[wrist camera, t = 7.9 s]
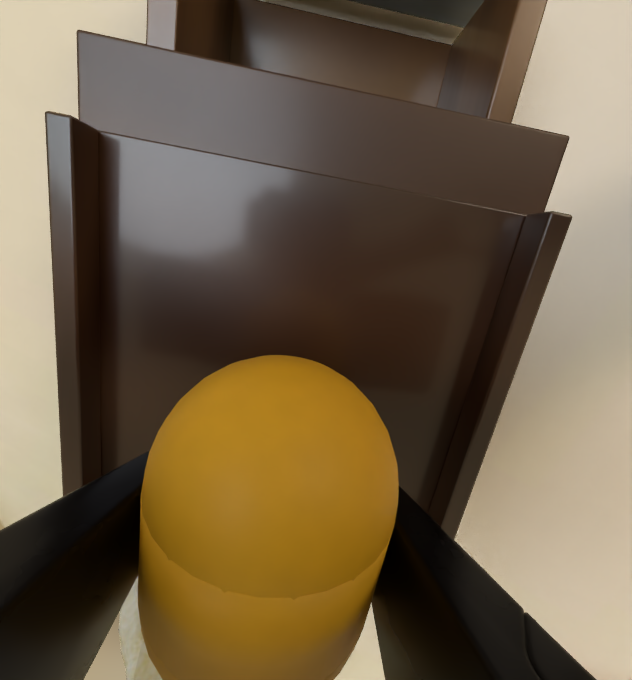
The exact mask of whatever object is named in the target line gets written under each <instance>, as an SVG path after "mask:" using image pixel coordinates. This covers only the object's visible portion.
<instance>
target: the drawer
mask: <svg viewBox="0 0 632 680" xmlns="http://www.w3.org/2000/svg"><path fill="white" fill-rule="evenodd" d="M348 1H352V2H357V3H361V4H365V5H369V6H374V7H378V8H382V9H386V10H390V11H395V12H399V13H403V14H407V15H412V16H416V17H420V18H424V19H429V20H433V21H437V22H441V23H445V24H450V25H454V26H458V27H462V28H464V29H463V30H462V32H461V33H460V35H459V36H458V37H457V39H456V40H455V41H454V43H453V44H452V45H448V44H444V43H439V42H435V41H431V40H427V39H422V38H418V37H414V36H409V35H405V34H401V33H396V32H392V31H388V30H383V29H379V28H375V27H370V26H366V25H362V24H357V23H353V22H349V21H345V20H340V19H336V18H332V17H327V16H323V15H319V14H314V13H310V12H306V11H301V10H297V9H293V8H288V7H284V6H280V5H275V4H271V3H267V2H263V1H258V0H147V38H146V44H147V45H151V46H156V47H161V48H165V49H170V50H175V51H179V52H184V53H188V54H193V55H198V56H202V57H207V58H211V59H216V60H221V61H225V62H230V63H234V64H239V65H244V66H248V67H253V68H257V69H262V70H267V71H271V72H276V73H281V74H285V75H290V76H294V77H299V78H304V79H308V80H313V81H317V82H322V83H327V84H331V85H336V86H340V87H345V88H350V89H354V90H359V91H363V92H368V93H373V94H377V95H382V96H387V97H391V98H396V99H400V100H405V101H410V102H414V103H419V104H423V105H428V106H433V107H437V108H442V109H446V110H451V111H456V112H460V113H465V114H469V115H474V116H479V117H483V118H488V119H492V120H497V121H502V122H506V123H511V122H512V119H513V115H514V112H515V108H516V105H517V102H518V98H519V95H520V92H521V88H522V85H523V81H524V78H525V75H526V71H527V68H528V65H529V61H530V58H531V54H532V51H533V48H534V44H535V41H536V38H537V34H538V31H539V28H540V24H541V21H542V17H543V14H544V11H545V7H546V4H547V1H548V0H348Z"/></svg>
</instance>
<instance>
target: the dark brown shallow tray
mask: <svg viewBox="0 0 632 680" xmlns="http://www.w3.org/2000/svg"><path fill="white" fill-rule="evenodd" d="M45 123H46V144H47V166H48V187H49V208H50V229H51V251H52V272H53V293H54V314H55V335H56V357H57V378H58V399H59V420H60V442H61V463H62V484H63V497H64V496H65V495H67V494H69V493H71V492H73V491H75V490H77V489H79V488H80V487H82V486H84V485H86V484H88V483H90V482H92V481H93V480H95V479H97V478H99V477H101V476H103V475H105V474H106V473H108V472H110V471H112V470H114V469H116V468H118V467H120V466H121V465H123V464H125V463H127V462H129V461H131V460H133V459H134V458H136V457H138V456H140V455H142V454H144V453H146V452H147V451H149V450H150V449H151V447H152V445H153V442H154V440H155V438H156V435H157V433H158V431H159V429H160V428H161V426H162V424H163V423H164V421H165V419H166V418H167V416H168V415H169V414H170V412H171V411H172V410H173V408H174V407H175V405H176V404H177V403H178V401H179V400H180V399H181V398H182V397H183V396H184V395H186V394H187V393H188V392H189V391H190V390H191V389H192V388H193V387H195V386H196V385H197V384H198V383H199V382H200V381H201V380H203V379H204V378H205V377H207V376H209V375H211V374H212V373H214V372H216V371H218V370H220V369H222V368H224V367H226V366H228V365H230V364H232V363H235V362H238V361H241V360H246V359H250V358H255V357H259V356H266V355H287V356H295V357H300V358H305V359H309V360H312V361H315V362H318V363H321V364H323V365H325V366H327V367H329V368H331V369H333V370H334V371H336V372H337V373H339V374H341V375H342V376H344V377H346V378H347V379H348V380H350V381H351V382H352V383H353V384H354V385H355V386H356V387H357V388H358V389H359V390H360V391H361V392H362V393H363V394H364V395H365V396H366V397H367V399H368V400H369V401H370V402H371V403H372V404H373V406H374V407H375V409H376V411H377V413H378V414H379V416H380V418H381V420H382V421H383V423H384V425H385V427H386V428H387V430H388V433H389V436H390V440H391V443H392V446H393V450H394V453H395V457H396V461H397V466H398V481H399V486H400V487H401V488H402V489H403V490H404V491H405V492H406V493H407V494H408V495H409V496H410V497H411V498H412V499H413V500H414V501H415V502H416V503H417V504H418V505H419V506H420V507H421V508H422V509H423V510H424V511H425V512H426V513H427V514H428V515H429V516H430V517H431V518H432V519H433V520H434V521H435V522H436V523H437V524H438V525H439V526H440V527H441V528H442V529H443V530H444V531H445V532H446V533H447V534H448V535H449V536H450V537H451V538H452V539H453V540H454V538H455V536H456V533H457V530H458V527H459V525H460V522H461V519H462V517H463V514H464V511H465V508H466V506H467V503H468V500H469V497H470V495H471V492H472V489H473V487H474V484H475V481H476V478H477V476H478V473H479V470H480V467H481V465H482V462H483V459H484V457H485V454H486V451H487V448H488V446H489V443H490V440H491V437H492V435H493V432H494V429H495V427H496V424H497V421H498V418H499V416H500V413H501V410H502V408H503V405H504V402H505V399H506V397H507V394H508V391H509V388H510V386H511V383H512V380H513V378H514V375H515V372H516V369H517V367H518V364H519V361H520V358H521V356H522V353H523V350H524V348H525V345H526V342H527V339H528V337H529V334H530V331H531V329H532V326H533V323H534V320H535V318H536V315H537V312H538V309H539V307H540V304H541V301H542V299H543V296H544V293H545V290H546V288H547V285H548V282H549V279H550V277H551V274H552V271H553V269H554V266H555V263H556V260H557V258H558V255H559V252H560V249H561V247H562V244H563V241H564V239H565V236H566V233H567V230H568V228H569V225H570V222H571V220H572V216H571V215H569V214H564V213H559V212H554V211H550V212H542V213H534V214H528V215H527V214H522V213H517V212H512V211H507V210H502V209H497V208H492V207H487V206H482V205H476V204H471V203H466V202H461V201H456V200H451V199H446V198H441V197H436V196H431V195H426V194H421V193H416V192H410V191H405V190H400V189H395V188H390V187H385V186H380V185H375V184H370V183H365V182H360V181H355V180H349V179H344V178H339V177H334V176H329V175H324V174H319V173H314V172H309V171H304V170H299V169H294V168H289V167H283V166H278V165H273V164H268V163H263V162H258V161H253V160H248V159H243V158H238V157H233V156H228V155H223V154H217V153H212V152H207V151H202V150H197V149H192V148H187V147H182V146H177V145H172V144H167V143H162V142H157V141H151V140H146V139H141V138H136V137H131V136H126V135H121V134H116V133H111V132H106V131H101V130H97V129H95V128H93V127H91V126H89V125H88V124H86V123H84V122H82V121H80V120H78V119H76V118H74V117H73V116H71V115H66V114H61V113H56V112H51V111H47V112H45Z"/></svg>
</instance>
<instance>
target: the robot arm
mask: <svg viewBox="0 0 632 680" xmlns="http://www.w3.org/2000/svg"><path fill="white" fill-rule="evenodd" d="M149 452H150V450H149V451H147V452H146V453H144V454H142V455H140V456H138V457H136V458H134V459H133V460H131V461H129V462H127V463H125V464H123V465H121V466H120V467H118V468H116V469H114V470H112V471H110V472H108V473H106V474H105V475H103V476H101V477H99V478H97V479H95V480H93V481H92V482H90V483H88V484H86V485H84V486H82V487H80V488H79V489H77V490H75V491H73V492H71V493H69V494H67V495H65V496H64V497H62V498H60V499H58V500H56V501H54V502H52V503H51V504H49V505H47V506H45V507H43V508H41V509H39V510H38V511H36V512H34V513H32V514H30V515H28V516H26V517H24V518H23V519H21V520H19V521H17V522H15V523H13V524H11V525H10V526H8V527H6V528H4V529H2V530H0V680H84V678H85V676H86V674H87V672H88V670H89V668H90V666H91V664H92V662H93V660H94V658H95V657H96V655H97V653H98V651H99V649H100V647H101V645H102V643H103V641H104V639H105V638H106V636H107V634H108V632H109V630H110V628H111V626H112V624H113V622H114V620H115V618H116V617H117V615H118V613H119V611H120V609H121V607H122V605H123V603H124V601H125V599H126V598H127V596H128V594H129V592H130V590H131V588H132V586H133V584H134V582H135V580H136V578H137V577H138V567H139V538H140V508H141V491H142V485H143V479H144V473H145V468H146V464H147V459H148V455H149ZM371 602H372V608H373V613H374V619H375V625H376V630H377V636H378V641H379V647H380V652H381V658H382V664H383V669H384V675H385V680H596V679H595V678H594V677H593V676H592V675H591V674H590V673H589V672H588V671H587V670H586V669H584V668H583V667H582V666H581V665H580V664H579V663H578V662H577V661H576V660H575V659H574V658H573V657H572V656H571V655H570V654H569V653H568V652H567V651H566V650H565V649H564V648H563V647H562V646H561V645H560V644H559V643H558V642H556V641H555V640H554V639H553V638H552V637H551V636H550V635H549V634H548V633H547V632H546V631H545V630H544V629H543V628H542V627H541V626H540V625H539V624H538V623H537V622H536V621H535V620H534V619H533V618H532V617H531V616H530V615H529V614H528V613H524V611H523V608H522V607H521V606H520V605H519V604H518V603H517V602H516V601H515V600H514V599H513V598H512V597H511V596H510V595H509V594H508V593H507V592H506V591H505V590H504V589H503V588H502V587H501V586H500V585H499V584H498V583H497V582H496V581H495V580H494V579H493V578H492V577H491V576H490V575H489V574H488V573H487V572H486V571H485V570H484V569H483V568H482V567H481V566H480V565H479V564H478V563H477V562H476V561H475V560H474V559H473V558H472V557H471V556H470V555H469V554H467V553H466V552H465V551H464V550H463V549H462V548H461V547H460V546H459V545H458V544H457V543H456V542H455V541H454V540H453V539H452V538H451V537H450V536H449V535H448V534H447V533H446V532H445V531H444V530H443V529H442V528H441V527H440V526H439V525H438V524H437V523H436V522H435V521H434V520H433V519H432V518H431V517H430V516H429V515H428V514H427V513H426V512H425V511H424V510H423V509H422V508H421V507H420V506H419V505H418V504H417V503H416V502H415V501H414V500H413V499H412V498H411V497H410V496H409V495H408V494H407V493H406V492H405V491H404V490H403V489H402V488H401V487H400V486H399V494H398V507H397V512H396V518H395V524H394V528H393V531H392V535H391V538H390V541H389V545H388V548H387V551H386V555H385V558H384V561H383V565H382V568H381V571H380V574H379V578H378V581H377V584H376V588H375V591H374V594H373V598H372V601H371Z"/></svg>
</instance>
